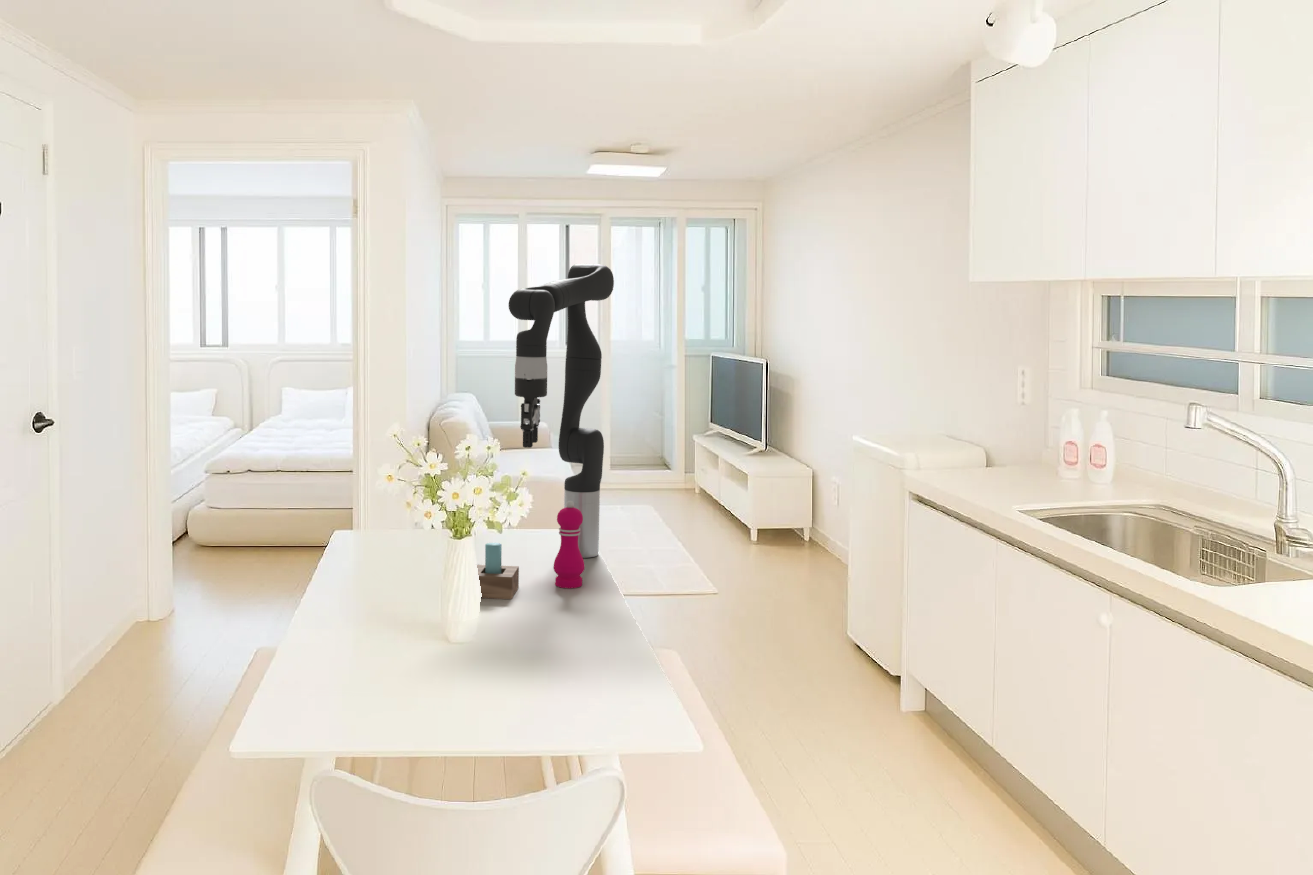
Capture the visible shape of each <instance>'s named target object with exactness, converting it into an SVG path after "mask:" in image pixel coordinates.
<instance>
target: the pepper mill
mask: <svg viewBox="0 0 1313 875" xmlns="http://www.w3.org/2000/svg"><path fill="white" fill-rule="evenodd" d="M566 506H567V507H566V508H564V507H562V508H561V509H560V510H559V511H558V513H557V516H556V522H557V524H558V525H559V528H558V530H559V532H558V535H560V545H559V550H558V552H557V554H556V557H555V558H554V562H553V571H554V573H555V574H556V577H555V581H554V583H555V584H554V585H555V586H556V587H557V588H561V589H576V588H580V587H582V586H583V577H582V576H581V575H582V574H583V572H584V571H585V568H586V567H585V561H584V558H583V557H582V555H581V553H580V550H579V546H578V536H579V535H580V530H581V529H580V528H579V526H580V525H581V524H582V522H583V516H582V513H581V511H580V510H579V509H577V508H574V507H573V506H574V503H573V501H568V502H567V504H566Z"/></svg>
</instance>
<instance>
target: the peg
mask: <svg viewBox="0 0 1313 875" xmlns="http://www.w3.org/2000/svg"><path fill="white" fill-rule="evenodd" d="M484 548H485V555H484V556H485V558H484V559H485V561H484V565H485V573H489V574H501V566H502V554H503V553H502V548H503V547H502V543H500V542H489V543H488V542H487V543H485V545H484Z"/></svg>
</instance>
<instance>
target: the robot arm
mask: <svg viewBox="0 0 1313 875" xmlns="http://www.w3.org/2000/svg"><path fill="white" fill-rule="evenodd" d="M614 286H615V280H614V274H613V271H612V269H611V268H610V267H608V266H606V265H604V264H595V263H593V264H590V263H589V264H587V263H575V264H573V265H572V266H570V268H569V270H568V273H567V278H564V279H557V280H553V281H550V282H548V283H544V284H543V285H539V286H529V287H523V288H520V289H516V290H515V291H514V292H513V293H512V294H511V296H510V297H509V299H508V311H509V312H510V314H511V316H513V317H514V318H515V319H517V320H521V321H534V322H533V324H532V327H531V328H530V329H526V330H522V331H518V333H517V335H516V339H515V340H516V341H515V342H516V343H515V344H516V345H515V348H516V349H515V350H516V352H515V353H516V354H515V364H514V395H515V397H519V398H524V400H523V403H520V410H521V411H520V430H521V431H522V447H523V448H524V449H525V448H527V449H531V448H532V447H533V446H534V443H537V442H539V441H538V440H539V433H538V432H539V425H540V422H541V419H540V418H541V413H540V412H541V400H540V398H544V397H546V396H548V360H547V359H548V358H547V353H548V352H547V350H548V349H547V347H548V345H547V343H548V342H547V341H548V337H549V331H550V328H551V325H552V324H551V323H552V321H553V317H554V313H557V312H559V311H561V310H564V309H565V308H567V336H566V337H567V338H566V339H567V340H566V350H565V351H566V352H565V366H564V367H565V369H564V394H563V403H562V404H563V405H562V406H563V407H562V412H561V413H562V414H561V421H560V426H559V427H560V429H559V433H558V434H559V435H558V453H559V454H558V455H559V457H560V458H561V460H562V461H564V462H566V463H571V464H573V463H574V464H582V465H581V466H582V468H581V472H579V473H578V474H575V475H571V476H568V477H566V478H565V479H564V484H563V486H564V491H563V492H564V495H563V496H564V498H563V501H564V502H563V503H564V504H563V508H566V507H567V506H566V504H567V502H568V501H573V503H574V506H573V507H574V508H577V509H579V510H580V511H581V513H582V516H583V522H582V524H581V525H580V526H579V528H580V529H581V530H580V535H579V536H578V546H579V550H580V553H581V555H582V557H583V559H586V558H594V557H597V556H598V555H599V554H598V552H599V550H600V549H599V547H600V546H599V545H600V508H601V507H600V505H601V504H600V503H601V502H600V501H601V500H600V498H601V496H600V494H601V490H600V489H601V482H602V477H603V466H604V454H605V453H604V451H605V443H604V442H605V441H604V436H603V434H602V432H601V431H600V430H598V429H595V428H594V429H593V428H588V427H587V428H585V427H580V421H581V415H582V412H583V408H584V406H585V404H586V403H587V401H588V399H589V398H590V397H591V395H592V393H593V392H594V390H595V388H596V387H597V386H598V384H599V381H600V379H601V374H602V349H601V347H600V344H599V341H598V340H597V338H596V336H595V335H594V333H593V331H592V329H591V327H590V325H589V322H588V320H587V319H588V318H587V314H586V312H587V311H586V302H589V301H596V302H597V301H598V302H599V301H604V300H607V299H608V298H609V297H610V296H611V295H612V293H613V290H614Z"/></svg>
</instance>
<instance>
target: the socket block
mask: <svg viewBox="0 0 1313 875" xmlns="http://www.w3.org/2000/svg"><path fill="white" fill-rule="evenodd" d="M476 565H477V568H478V575H479V580H480V586H481V593H482V598H481V599H495V600H497V599H498V600H499V599H500V600H501V599H502V600H512V599H513V598H514V596H515V594H516V593H517V591H518V590H519V584H520V583H519V582H520V581H519V579H520V578H519V577H520V566H519V565H501V574H489V573H485V564H476Z"/></svg>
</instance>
